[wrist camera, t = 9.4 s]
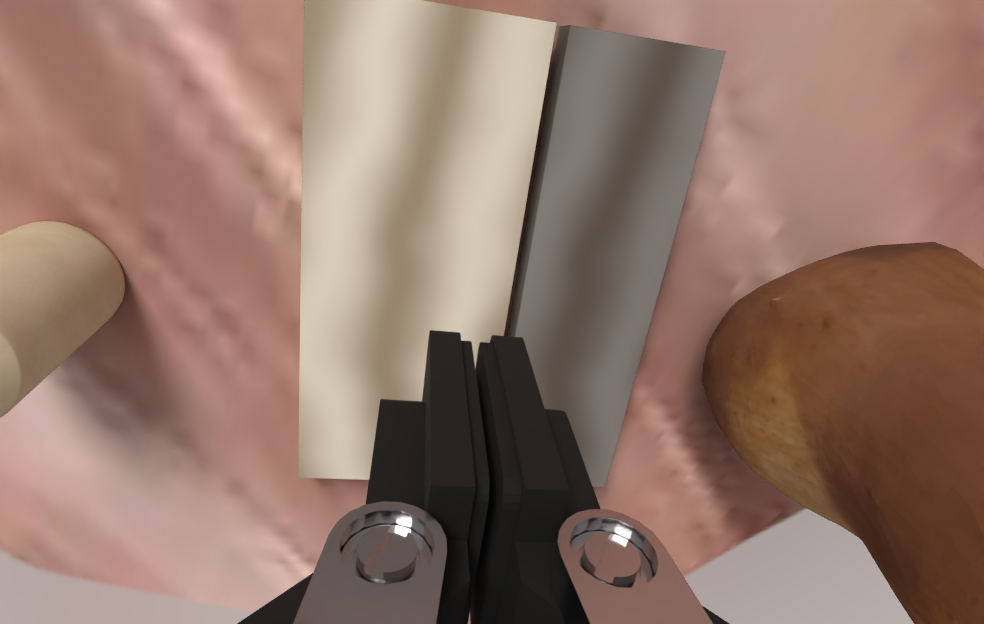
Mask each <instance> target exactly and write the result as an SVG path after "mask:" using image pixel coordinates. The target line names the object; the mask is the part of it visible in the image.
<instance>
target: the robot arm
mask: <svg viewBox="0 0 984 624" xmlns="http://www.w3.org/2000/svg"><path fill="white" fill-rule="evenodd" d="M469 612H470V617H471V624H729V623H727V622H726V621H724V620H723V619H721V618H720V617H718V616H717V615H715V614H714V613H712V612H711V611H709V610H708V609H706V608H705V607H703V606H702V605H701V604H700V602H699V601H698V599H697V597H696V596H695V594H694V593H693V591H692V590H691V588H690V586H689V585H688V583H687V582H686V580H685V578H684V577H683V575H682V574H681V572H680V571H679V569H678V567H677V566H676V564H675V563H674V561H673V559H672V558H671V556H670V555H669V553H668V552H667V550H666V548H665V547H664V545H663V544H662V543H661V542H660V540H659V539H658V538H657V537H656V535H655V534H654V533H653V532H652V531H651V530H649V529H648V528H647V527H645V526H644V525H643V524H641V523H640V522H639V521H637V520H635V519H633V518H631V517H629V516H627V515H625V514H622V513H618V512H614V511H610V510H603V509H600V506H599V503H598V501H597V498H596V495H595V492H594V489H593V486H592V484H591V481H590V478H589V475H588V472H587V470H586V467H585V464H584V461H583V458H582V456H581V453H580V450H579V447H578V444H577V442H576V439H575V436H574V433H573V430H572V428H571V425H570V422H569V419H568V417H567V415H566V413H565V411H563V410H553V409H545V408H544V405H543V402H542V398H541V395H540V392H539V388H538V385H537V382H536V379H535V375H534V372H533V369H532V365H531V362H530V359H529V355H528V352H527V349H526V346H525V342H524V339H523V337H511V336H498V335H492V337H491V340H490V343H487V342H480V344H479V348H478V354H477V361H476V368H475V363H474V356H473V348H472V342H471V341H461V334H460V332H447V331H435V330H430V332H429V339H428V348H427V358H426V368H425V377H424V387H423V397H422V401H406V400H390V399H380V405H379V412H378V419H377V427H376V434H375V441H374V449H373V456H372V463H371V471H370V478H369V485H368V493H367V500H366V505H363V506H361V507H359V508H357V509H355V510H352V511H350V512H349V513H348V514H346V515H345V516H344V517H343V518H342V519H340V520H339V521H338V522H337V523H336V525H335V526H334V528H333V529H332V531H331V532H330V534H329V536H328V538H327V541H326V543H325V546H324V548H323V550H322V553H321V555H320V558H319V560H318V563H317V565H316V568H315V570H314V573H312V574H311V575H309V576H308V577H306V578H305V579H303V580H302V581H300V582H299V583H297V584H296V585H294V586H293V587H291V588H290V589H288V590H287V591H286V592H284V593H283V594H281V595H280V596H278V597H277V598H275V599H274V600H272V601H271V602H269V603H268V604H266V605H265V606H263V607H262V608H260V609H259V610H257V611H256V612H254V613H253V614H251V615H250V616H248V617H247V618H245V619H244V620H242V621H241V622H239V623H238V624H467V623H468V618H469Z"/></svg>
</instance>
